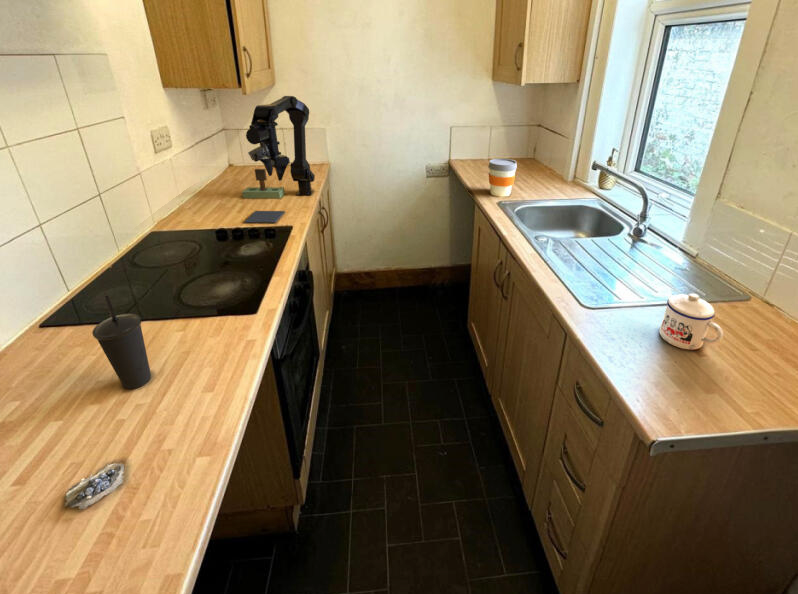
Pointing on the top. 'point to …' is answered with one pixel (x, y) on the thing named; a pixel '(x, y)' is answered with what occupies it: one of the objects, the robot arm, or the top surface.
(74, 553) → the top surface
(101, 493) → the blueberries
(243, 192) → the rack
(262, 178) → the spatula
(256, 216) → the mat
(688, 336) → the teacup with lid
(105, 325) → the drinking cup
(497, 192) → the reusable coffee cup
